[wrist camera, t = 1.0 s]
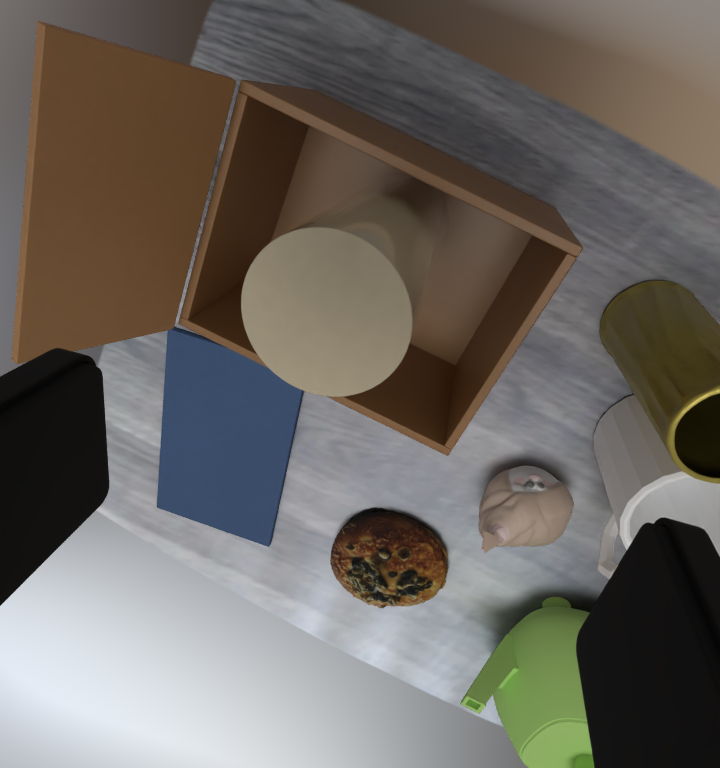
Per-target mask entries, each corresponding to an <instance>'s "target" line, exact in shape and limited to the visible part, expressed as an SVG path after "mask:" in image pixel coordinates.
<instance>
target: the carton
mask: <svg viewBox="0 0 720 768" xmlns="http://www.w3.org/2000/svg"><path fill="white" fill-rule="evenodd" d="M239 91H240V92H238V94H237V98H236V102H235V106H234V110H233V114H232V118H231V121H230V125H229V129H228V133H227V137H226V141H225V145H224V149H223V152H222V156H221V160H220V164H219V168H218V172H217V176H216V180H215V183H214V187H213V191H212V195H211V199H210V203H209V207H208V211H207V214H206V218H205V222H204V226H203V230H202V234H201V238H200V242H199V245H198V249H197V253H196V257H195V261H194V265H193V269H192V273H191V276H190V280H189V284H188V288H187V292H186V296H185V300H184V304H183V307H182V311H181V315H180V316H181V317H180V319H179V324H180V325H182V326H184V327H186V328H188V329H190V330H192V331H194V332H196V333H198V334H200V335H202V336H204V337H206V338H208V339H210V340H212V341H214V342H216V343H219V344H221V345H223V346H225V347H227V348H229V349H231V350H233V351H235V352H237V353H239V354H241V355H243V356H245V357H247V358H249V359H251V360H253V361H255V362H257V363H259V364H261V365H263V366H265V367H267V366H266V365H265V363H264V362H263V361H262V360H261V359H260V357H259V356H258V354H257V353H256V351H255V350H254V348H253V346H252V344H251V342H250V340H249V338H248V336H247V333H246V330H245V327H244V323H243V319H242V311H241V295H242V288H243V283H244V280H245V276H246V274H247V272H248V269H249V267H250V265H251V264H252V262H253V261H254V259H255V257H256V256H257V255H258V254H259V253H260V251H261V250H262V249H263V248H264V247H265V246H267V245H268V244H269V243H270V242H271V241H273V240H275V239H276V238H278V237H279V236H281V235H283V234H285V233H286V232H288V231H290V230H292V229H293V228H295V227H297V226H298V225H300V224H302V223H304V222H305V221H307V220H309V219H311V218H312V217H314V216H316V215H318V214H319V213H321V212H323V211H325V210H326V209H328V208H330V207H331V206H333V205H335V204H337V203H338V202H340V201H342V200H344V199H345V198H347V197H349V196H351V195H352V194H354V193H356V192H357V191H359V190H361V189H363V188H364V187H366V186H368V185H370V184H371V183H373V182H375V181H377V180H378V179H380V178H382V177H384V176H387V175H390V174H395V173H406V174H408V175H410V176H412V177H414V178H416V179H418V180H420V181H422V182H424V183H427V184H429V185H431V186H433V187H435V188H436V189H437V190H438V191H439V192H440V194H441V195H442V197H443V199H444V201H445V203H446V205H447V208H448V213H449V231H448V236H447V239H446V242H445V245H444V248H443V250H442V253H441V256H440V259H439V262H438V265H437V267H436V270H435V273H434V276H433V279H432V281H431V284H430V287H429V290H428V293H427V296H426V298H425V301H424V304H423V307H422V310H421V313H420V315H419V318H418V321H417V324H416V327H415V330H414V332H413V335H412V338H411V341H410V344H409V347H408V349H407V352H406V354H405V356H404V358H403V360H402V361H401V363H400V364H399V366H398V367H397V369H396V370H395V371H394V372H393V373H392V374H391V375H390V376H389V377H388V378H387V379H385V380H384V381H383V382H382V383H380V384H379V385H377V386H375V387H374V388H372V389H369V390H367V391H365V392H362V393H358V394H355V395H349V396H341V397H330V396H327V397H329V398H331V399H333V400H335V401H337V402H339V403H341V404H343V405H345V406H347V407H349V408H351V409H353V410H355V411H357V412H359V413H361V414H363V415H365V416H367V417H369V418H372V419H374V420H376V421H378V422H380V423H382V424H384V425H386V426H388V427H390V428H392V429H394V430H396V431H398V432H400V433H402V434H404V435H406V436H408V437H410V438H412V439H414V440H416V441H418V442H420V443H423V444H425V445H427V446H429V447H431V448H433V449H435V450H437V451H439V452H441V453H443V454H445V455H447V456H448V455H449V453H450V452H451V450H452V449H453V447H454V446H455V444H456V443H457V441H458V440H459V438H460V437H461V435H462V433H463V432H464V430H465V429H466V427H467V426H468V424H469V423H470V421H471V420H472V418H473V417H474V415H475V414H476V412H477V410H478V409H479V407H480V406H481V404H482V403H483V401H484V400H485V398H486V397H487V395H488V394H489V392H490V391H491V389H492V387H493V386H494V384H495V383H496V381H497V380H498V378H499V377H500V375H501V374H502V372H503V371H504V369H505V368H506V366H507V364H508V363H509V361H510V360H511V358H512V357H513V355H514V354H515V352H516V351H517V349H518V348H519V346H520V345H521V343H522V341H523V340H524V338H525V337H526V335H527V334H528V332H529V331H530V329H531V328H532V326H533V325H534V323H535V322H536V320H537V318H538V317H539V315H540V314H541V312H542V311H543V309H544V308H545V306H546V305H547V303H548V302H549V300H550V299H551V297H552V295H553V294H554V292H555V291H556V289H557V288H558V286H559V285H560V283H561V282H562V280H563V279H564V277H565V276H566V274H567V273H568V271H569V269H570V268H571V266H572V265H573V263H574V262H575V260H576V257H578V256H579V254H580V253H581V251H582V250H583V247H582V245H581V244H580V242H579V241H578V240H577V238H576V237H575V235H574V234H573V232H572V231H571V230H570V228H569V227H568V225H567V224H566V222H565V221H564V220H563V218H562V217H561V215H560V214H559V212H558V211H557V210H556V208H554V207H552V206H550V205H548V204H546V203H544V202H542V201H540V200H538V199H536V198H534V197H532V196H530V195H528V194H526V193H524V192H522V191H520V190H518V189H516V188H514V187H512V186H510V185H508V184H506V183H504V182H502V181H500V180H498V179H496V178H493V177H491V176H489V175H487V174H485V173H483V172H481V171H479V170H477V169H475V168H473V167H471V166H469V165H467V164H465V163H463V162H461V161H459V160H457V159H455V158H453V157H451V156H449V155H447V154H445V153H443V152H441V151H439V150H437V149H435V148H432V147H430V146H428V145H426V144H424V143H422V142H420V141H418V140H416V139H414V138H412V137H410V136H408V135H406V134H404V133H402V132H400V131H398V130H396V129H394V128H392V127H390V126H388V125H386V124H384V123H382V122H380V121H378V120H376V119H374V118H372V117H369V116H367V115H365V114H363V113H361V112H359V111H357V110H355V109H353V108H351V107H349V106H347V105H345V104H343V103H341V102H339V101H337V100H335V99H333V98H331V97H329V96H327V95H325V94H323V93H321V92H319V91H317V90H311V89H304V88H297V87H290V86H283V85H276V84H269V83H262V82H255V81H248V80H241V83H240V87H239ZM267 368H268V367H267Z"/></svg>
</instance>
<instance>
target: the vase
mask: <svg viewBox="0 0 720 768" xmlns="http://www.w3.org/2000/svg"><path fill="white" fill-rule="evenodd" d="M600 336H601V340H602V343H603V345H604V347H605V349H606V351H607V352H608V353H609V354H610V355H611V356H612V357H613V358H614V360H615V362H616V364H617V366H618V368H619V369H620V371H621V372H622V374H623V376H624V377H625V379H626V381H627V382H628V384H629V386H630V388H631V389H632V391H633V393H634V395H635V396H636V398H637V400H638V401H639V403H640V405H641V406H642V408H643V410H644V411H645V413H646V415H647V416H648V418H649V420H650V421H651V423H652V425H653V426H654V428H655V430H656V431H657V433H658V435H659V436H660V438H661V440H662V442H663V444H664V445H665V447H666V449H667V451H668V453H669V455H670V457H671V459H672V461H673V462H674V463H675V465H676V466H677V467H678V468H679V469H681V470H682V471H683V472H685V473H686V474H688V475H689V476H691V477H693V478H695V479H698V480H701V481H705V482H710V483H716V484H720V325H719V324H718V323H717V322H716V320H715V319H714V318H713V317H712V316H711V315H710V314H709V313H708V311H707V310H706V309H705V308H704V307H703V306H702V305H701V304H700V303H699V302H698V301H697V300H696V298H695V296H694V294H692V293H691V292H690V291H689V290H687V289H686V288H684V287H683V286H681V285H679V284H676V283H673V282H668V281H648V282H644V283H640V284H638V285H635V286H633V287H631V288H629V289H627V290H625V291H624V292H622V293H620V294H619V295H618V296H617V297H616V298H615V299H614V300H613V301H612V302H611V303H610V304H609V306H608V307H607V309H606V310H605V312H604V314H603V317H602V320H601V325H600Z"/></svg>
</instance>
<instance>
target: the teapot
mask: <svg viewBox="0 0 720 768" xmlns="http://www.w3.org/2000/svg"><path fill="white" fill-rule="evenodd" d="M589 613H590V612H586V611H582V610H578V609H573V608H571V605H570V603H569V602H568V601H567V600H566V599H564V598H561V597H550V598H547V599H546V600H544V601H543V603H542V608H541V609H537V610H535V611H533V612H531V613H530V614H528V615H527V616H525V617H524V618H523V619H522V620H521V621H520V622H519V623H518V624H516V625H515V626H514V627H513V628H512V629H511V631H510V632H509V633H508V634H507V635H506V636H505V637H504V638H503V640H502V641H501V642H500V644H499V645H498V646H497V648H496V649H495V651H494V652H493V653H492V655H491V656H490V658H489V659H488V661H487V662H486V664H485V665H484V667H483V668H482V670H481V671H480V673H479V675H478V676H477V678H476V679H475V681H474V682H473V684H472V685H471V687H470V688H469V690H468V691H467V693H466V694H465V696H464V698H463V699H462V701H461V705H463V706H465V707H467V708H469V709H471V710H473V711H475V712H477V713H479V714H480V712H481V711H482V710H483V709H484V707H485V706H486V702H487V701H488V700H489V699H490V697H491V696H492V695H493V697H494V701H495V705H496V708H497V711H498V714H499V717H500V719H501V721H502V724H503V726H504V728H505V730H506V732H507V734H508V736H509V738H510V740H511V742H512V744H513V746H514V748H515V750H516V751H517V753H518V755H519V757H520V758H521V760H522V761H523V762H524V764H525V765H526V766H527V767H528V768H594V762H593V755H592V749H591V743H590V736H589V730H588V724H587V718H586V711H585V705H584V699H583V693H582V686H581V680H580V674H579V668H578V661H577V655H576V641H577V636H578V633H579V630H580V628H581V627H582V625H583V623H584V622H585V620H586V618H587V617H588V615H589Z"/></svg>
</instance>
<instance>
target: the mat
mask: <svg viewBox="0 0 720 768" xmlns="http://www.w3.org/2000/svg"><path fill="white" fill-rule="evenodd" d="M303 392H304V391H303V390H301V389H298V388H296V387H294V386H292V385H290V384H289V383H287V382H285V381H284V380H282V379H281V378H280V377H278V376H277V375H276V374H275V373H273V372H272V371H271V370H270V369H269V368H267V367H265V366H263V365H261V364H259V363H257V362H255V361H253V360H251V359H249V358H247V357H245V356H243V355H241V354H239V353H237V352H235V351H233V350H231V349H229V348H227V347H225V346H223V345H221V344H219V343H216V342H214V341H212V340H210V339H208V338H206V337H203V336H200V335H197V334H193V333H190V332H187V331H184V330H181V329H178V328H175V327H174V328H173V329H170V330H168V335H167V352H166V368H165V384H164V400H163V416H162V433H161V449H160V465H159V481H158V497H157V508H160V509H163V510H166V511H169V512H171V513H174V514H177V515H180V516H183V517H186V518H188V519H191V520H194V521H197V522H200V523H203V524H205V525H208V526H211V527H214V528H217V529H220V530H222V531H225V532H228V533H231V534H234V535H237V536H240V537H242V538H245V539H248V540H251V541H254V542H257V543H259V544H262V545H265V546H268V547H269V546H270V544H271V541H272V536H273V531H274V527H275V522H276V517H277V513H278V508H279V503H280V499H281V494H282V489H283V485H284V480H285V475H286V471H287V466H288V461H289V457H290V452H291V447H292V443H293V438H294V433H295V429H296V424H297V419H298V415H299V410H300V405H301V401H302V396H303Z"/></svg>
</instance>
